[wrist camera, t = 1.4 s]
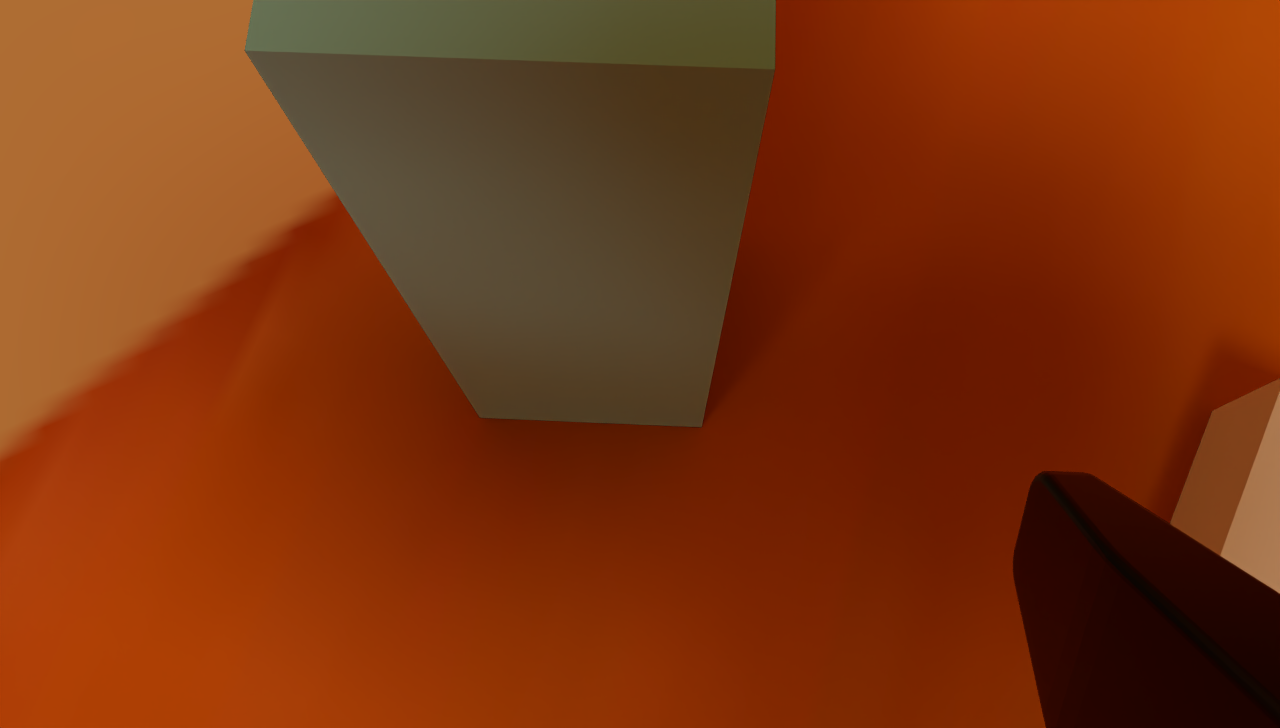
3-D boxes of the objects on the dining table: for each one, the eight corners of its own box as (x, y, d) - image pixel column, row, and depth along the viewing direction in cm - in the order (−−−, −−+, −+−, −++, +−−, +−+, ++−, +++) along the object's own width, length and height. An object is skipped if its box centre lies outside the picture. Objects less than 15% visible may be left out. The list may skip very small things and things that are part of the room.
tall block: (701, 427, 21) (775, 69, 9) (479, 418, 21) (244, 50, 9) (707, 222, 23) (779, -340, 10) (498, 214, 23) (315, -353, 10)
